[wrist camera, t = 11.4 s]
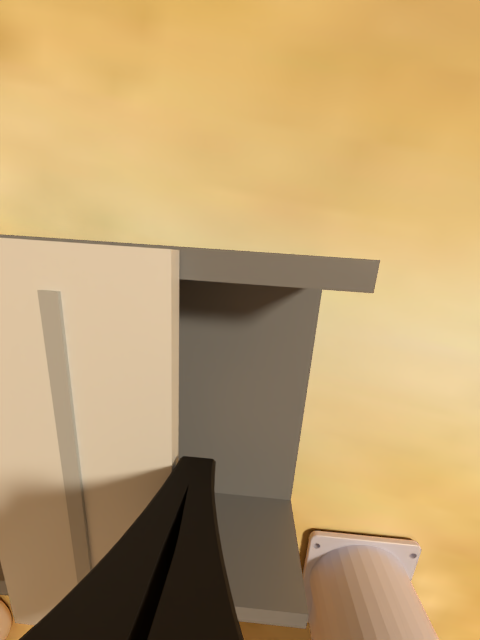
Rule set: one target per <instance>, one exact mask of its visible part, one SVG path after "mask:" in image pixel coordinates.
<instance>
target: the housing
mask: <svg viewBox="0 0 480 640" xmlns="http://www.w3.org/2000/svg"><path fill="white" fill-rule="evenodd" d="M0 238H13V239H28V240H42V241H57V242H71V243H86V244H101V245H115V246H130V247H145V248H159V249H173V250H179V425H178V461H179V460H180V458H181V457H183V456H189V457H200V458H210V459H214V460H215V461H216V467H215V486H214V492H215V504H216V513H217V521H218V528H219V535H220V541H221V546H222V552H223V557H224V562H225V567H226V572H227V576H228V581H229V585H230V590H231V594H232V598H233V602H234V606H235V610H236V614H237V618H238V621H241V622H250V623H259V624H268V625H277V626H286V627H295V628H304V629H306V625H307V620H308V616H309V613H308V607H307V601H306V594H305V588H304V582H303V575H302V569H301V563H300V556H299V550H298V544H297V537H296V531H295V525H294V518H293V512H292V506H291V494H292V488H293V481H294V474H295V467H296V461H297V454H298V447H299V441H300V434H301V427H302V420H303V414H304V407H305V400H306V394H307V387H308V380H309V373H310V367H311V360H312V353H313V347H314V340H315V333H316V327H317V320H318V313H319V306H320V300H321V293H322V289H323V290H337V291H350V292H364V293H374V288H375V283H376V278H377V273H378V268H379V263H380V260H367V259H353V258H338V257H323V256H308V255H294V254H279V253H264V252H250V251H235V250H220V249H206V248H191V247H176V246H161V245H147V244H132V243H117V242H103V241H88V240H73V239H58V238H44V237H29V236H14V235H0ZM0 595H8V591H7V587H6V583H5V578H4V574H3V570H2V566H1V562H0Z"/></svg>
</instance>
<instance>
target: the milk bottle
mask: <svg viewBox="0 0 480 640" xmlns="http://www.w3.org/2000/svg"><path fill="white" fill-rule="evenodd" d="M11 625H12V616H11V613H10V611H9V609H8V607H7V606H6V605H5V603H3V602H2V601H1V600H0V640H5V639H6V637H7V636H8V634H9V631H10V628H11Z"/></svg>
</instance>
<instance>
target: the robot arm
mask: <svg viewBox="0 0 480 640" xmlns="http://www.w3.org/2000/svg"><path fill="white" fill-rule="evenodd" d="M215 467H216V461H215V460H214V459H210V458H200V457H189V456H183V457H181V458H180V460H179V461H178V463H177V465H176V466H175V468H174V469H173V471H172V472H171V474H170V475H169V477H168V478H167V480H166V481H165V482H164V484H163V485H162V487H161V488H160V489H159V491H158V492H157V493H156V495H155V496H154V497H153V499H152V500H151V501H150V503H149V504H148V505H147V507H146V508H145V509H144V510H143V512H142V513H141V514H140V515H139V517H138V518H137V519H136V520H135V521H134V523H133V524H132V525H131V526H130V527H129V529H128V530H127V531H126V532H125V533H124V535H123V536H122V537H121V538H120V539H119V540H118V542H117V543H116V544H115V545H114V546H113V547H112V548H111V549H110V551H109V552H108V553H107V554H106V555H105V556H104V557H103V558H102V559H101V560H100V561H99V562H98V564H97V565H96V566H95V567H94V568H93V569H92V570H91V571H90V572H89V573H88V574H87V575H86V576H85V577H84V578H83V579H82V580H81V581H80V582H79V583H78V584H77V585H76V586H75V587H74V588H73V589H72V590H71V591H70V592H69V593H68V594H67V595H66V596H65V597H64V598H63V599H62V600H61V601H60V602H59V603H58V604H57V605H56V606H55V607H54V608H53V609H52V610H51V611H50V612H49V613H48V614H47V615H46V616H45V617H43V618H42V619H41V620H40V621H39V622H38V623H37V624H36V625H35V626H34V627H32V628H31V629H30V630H29V631H28V632H27V633H26V634H25V635H24V636H23V637H21V638H20V639H19V640H244V639H243V636H242V632H241V629H240V625H239V622H238V618H237V614H236V610H235V606H234V602H233V598H232V594H231V590H230V585H229V581H228V576H227V572H226V567H225V562H224V557H223V552H222V546H221V541H220V535H219V528H218V521H217V513H216V504H215V492H214V486H215ZM420 553H421V547H420V546H419V544H418V542H416V541H414V540H405V539H395V538H385V537H375V536H365V535H356V534H346V533H336V532H326V531H313V532H311V533H310V536H309V542H308V547H307V553H306V558H305V564H304V569H303V582H304V588H305V594H306V601H307V607H308V613H309V616H308V620H307V623H309V626H310V633H311V639H312V640H439V638H438V636H437V634H436V632H435V630H434V628H433V626H432V624H431V622H430V620H429V618H428V616H427V614H426V612H425V610H424V608H423V606H422V604H421V601H420V599H419V597H418V595H417V593H416V591H415V589H414V587H413V585H412V583H411V580H412V577H413V574H414V571H415V568H416V565H417V562H418V559H419V556H420Z"/></svg>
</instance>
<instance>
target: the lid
mask: <svg viewBox="0 0 480 640" xmlns="http://www.w3.org/2000/svg"><path fill="white" fill-rule="evenodd" d="M178 425H179V250H173V249H159V248H145V247H130V246H115V245H101V244H86V243H71V242H57V241H42V240H28V239H13V238H0V562H1V566H2V570H3V574H4V578H5V583H6V587H7V591H8V595H9V599H10V603H11V608H12V612H13V616H14V620H15V623H20V624H28V625H36V624H37V623H38V622H39V621H40V620H41V619H42V618H43V617H45V616H46V615H47V614H48V613H49V612H50V611H51V610H52V609H53V608H54V607H55V606H56V605H57V604H58V603H59V602H60V601H61V600H62V599H63V598H64V597H65V596H66V595H67V594H68V593H69V592H70V591H71V590H72V589H73V588H74V587H75V586H76V585H77V584H78V583H79V582H80V581H81V580H82V579H83V578H84V577H85V576H86V575H87V574H88V573H89V572H90V571H91V570H92V569H93V568H94V567H95V566H96V565H97V564H98V562H99V561H100V560H101V559H102V558H103V557H104V556H105V555H106V554H107V553H108V552H109V551H110V549H111V548H112V547H113V546H114V545H115V544H116V543H117V542H118V540H119V539H120V538H121V537H122V536H123V535H124V533H125V532H126V531H127V530H128V529H129V527H130V526H131V525H132V524H133V523H134V521H135V520H136V519H137V518H138V517H139V515H140V514H141V513H142V512H143V510H144V509H145V508H146V507H147V505H148V504H149V503H150V501H151V500H152V499H153V497H154V496H155V495H156V493H157V492H158V491H159V489H160V488H161V487H162V485H163V484H164V482H165V481H166V480H167V478H168V477H169V475H170V474H171V472H172V471H173V469H174V468H175V466H176V465H177V463H178Z"/></svg>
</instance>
